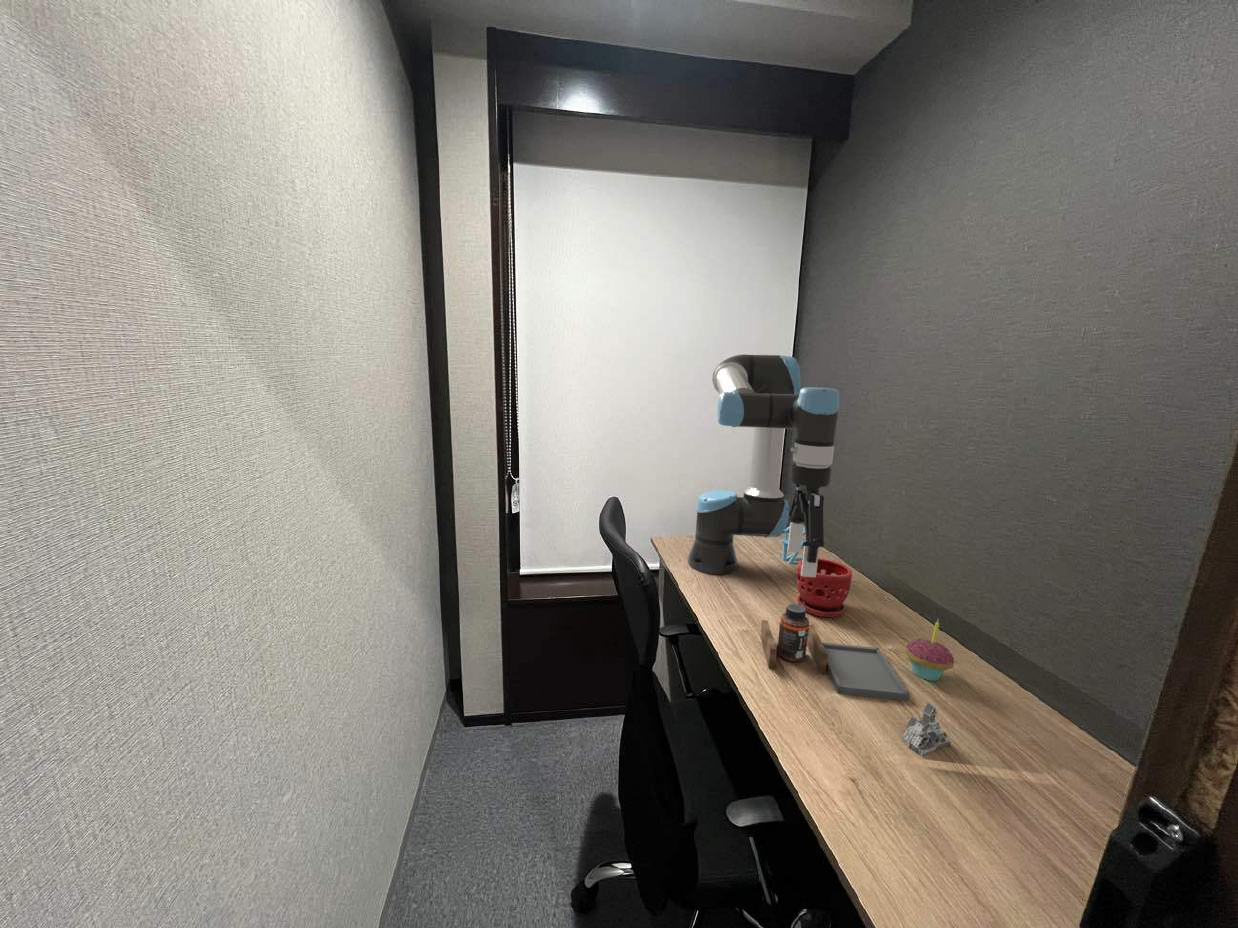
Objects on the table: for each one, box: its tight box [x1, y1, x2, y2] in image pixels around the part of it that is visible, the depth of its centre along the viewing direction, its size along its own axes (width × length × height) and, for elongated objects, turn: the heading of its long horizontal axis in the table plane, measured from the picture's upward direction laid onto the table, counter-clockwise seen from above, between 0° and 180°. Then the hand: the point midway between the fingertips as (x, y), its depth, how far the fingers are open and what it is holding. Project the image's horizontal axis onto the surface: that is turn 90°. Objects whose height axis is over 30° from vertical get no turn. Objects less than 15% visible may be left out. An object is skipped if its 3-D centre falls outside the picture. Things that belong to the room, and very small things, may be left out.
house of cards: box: [901, 702, 952, 757], centre depth 87 cm, size 9×9×8 cm
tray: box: [821, 641, 910, 702], centre depth 104 cm, size 16×13×2 cm
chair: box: [781, 525, 806, 565], centre depth 162 cm, size 8×8×12 cm
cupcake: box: [905, 618, 955, 682], centre depth 103 cm, size 9×8×12 cm
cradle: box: [760, 620, 828, 675], centre depth 109 cm, size 12×11×4 cm
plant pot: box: [796, 558, 853, 618], centre depth 130 cm, size 13×13×12 cm
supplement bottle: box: [776, 603, 810, 663], centre depth 109 cm, size 6×6×11 cm
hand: (800, 562), depth 105 cm, fingers open, 13 cm apart
